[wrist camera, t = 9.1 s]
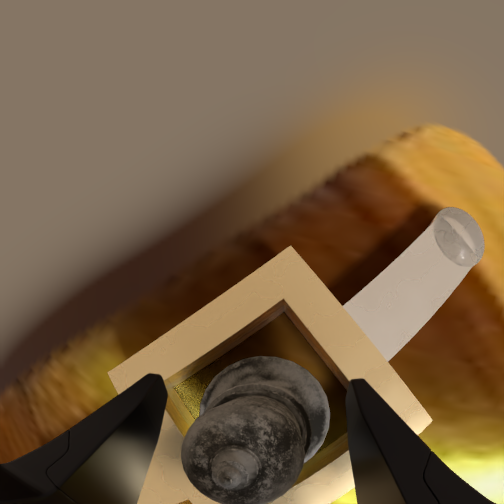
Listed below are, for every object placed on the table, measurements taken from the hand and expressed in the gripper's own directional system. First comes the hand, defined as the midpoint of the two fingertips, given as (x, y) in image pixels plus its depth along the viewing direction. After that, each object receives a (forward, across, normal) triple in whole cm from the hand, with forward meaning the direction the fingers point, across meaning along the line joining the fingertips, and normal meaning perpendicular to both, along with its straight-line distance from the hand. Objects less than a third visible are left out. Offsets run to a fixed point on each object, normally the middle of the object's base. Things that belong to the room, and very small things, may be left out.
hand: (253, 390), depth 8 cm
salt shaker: (+5, 0, +7) cm, 8 cm away
